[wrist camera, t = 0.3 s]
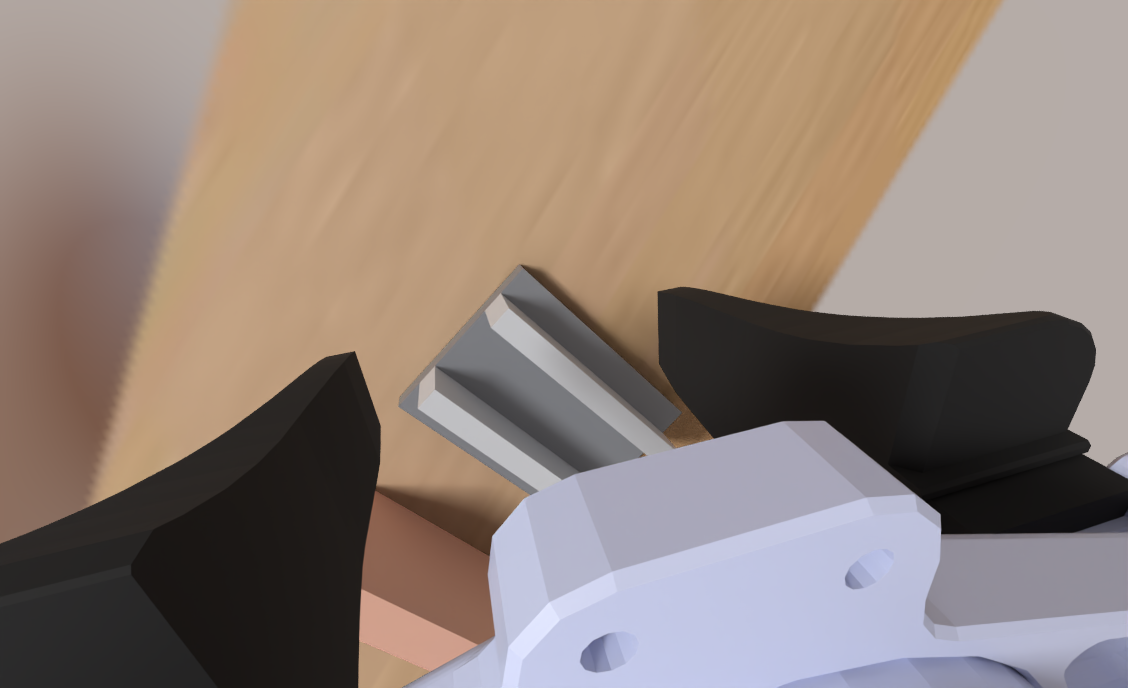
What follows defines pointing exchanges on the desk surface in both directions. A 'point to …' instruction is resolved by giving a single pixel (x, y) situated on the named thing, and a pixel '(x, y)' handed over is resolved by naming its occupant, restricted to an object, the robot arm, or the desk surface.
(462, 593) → the tall salmon pink block
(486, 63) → the desk surface
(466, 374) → the grey slotted holder
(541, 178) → the desk surface
